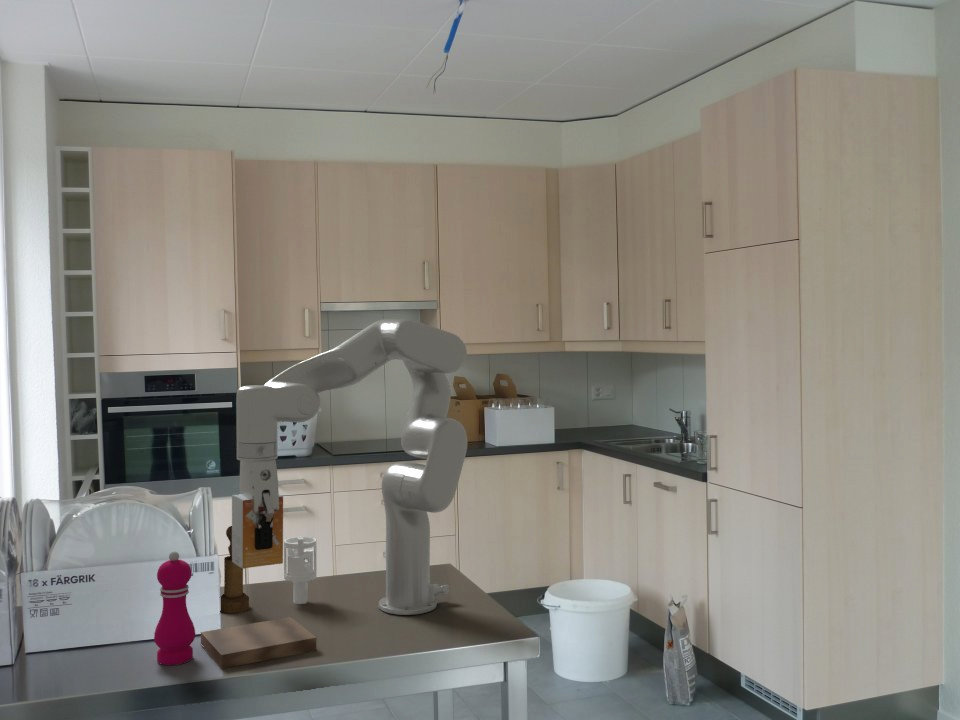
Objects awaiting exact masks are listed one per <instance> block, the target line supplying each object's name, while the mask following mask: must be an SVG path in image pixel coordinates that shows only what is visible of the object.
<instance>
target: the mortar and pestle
mask: <svg viewBox="0 0 960 720" xmlns="http://www.w3.org/2000/svg"><path fill="white" fill-rule="evenodd" d="M225 536H226V537H227V539H228V542H229V546H228V547H227V549H228V554H229V555H227V556H225V557H223V558H224V561H223V564H224V579H223V582H224V587H223V589H224V590H223V594H222V595H221V596H220V597H221V611H222V612H221V611H220V612H221V613H228V614H235V613H241V612H245V611H247V610H249V608H250V597H249V596H248V595H247V594H246V593H245V592H244V569H242V568H241V567H239V566H238V565H236V564H235V563H233V562H232V525H230V526H228V527H227V529H226V531H225Z"/></svg>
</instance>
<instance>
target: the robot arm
mask: <svg viewBox="0 0 960 720" xmlns="http://www.w3.org/2000/svg"><path fill="white" fill-rule="evenodd" d="M467 351H468V350H467V346H466V344H465V342H464V340H462V339H461V338H460V337H459V335H457V334H455V333H452V332H449V331H447V330H444V329H442V328H441V329H440V328H437V327H435V326H431V325H428V324H426V323H423V322H420V321H418V320H413V319H410V318H408V319H407V318H383V319H380V320H377V321H375V322H373V323H371V324H370V325H368V326H366V327H365V328H363V329H362V330H361V331H359V332H358V333H356V334H354V335H353V336H351V337H349V338H348V339H347V340H345V341H344V342H341V343H340V344H339V345H337V346H336V347H333V348H332V349H330V350H328V351H324V352H322V353H319V354H318V355H315V356H312V357H311V358H308V359H305V360H303V361H301V362H298V363H296V364H294V365H292V366H290V367H288V368H287V369H285V370H283V371H282V372H280V373H279V374H277V375H276V376H274V377H272V378H271V379H269V380H268V381H267V382H266V383H265V384H257V385H256V384H254V385H252V384H251V385H243V386H241V387H239V388H238V389H237V392H236V401H235V402H236V403H235V405H236V406H235V407H236V411H235V412H236V460H238V461H240V463H239V465H240V466H239V485H238V487H239V494H242V495H244V496H246V497H248V498H249V499H251V503H252V512H253V513H255V514H256V525H257V528H255V549H256V550H262V549H270V548H272V546H273V542H272V527H273V522H272V520H273V515H274V512H276V511H278V509H279V495H280V492H279V479H278V478H279V477H278V475H279V474H278V469H277V467H278V466H277V463H276V462H277V461H276V460H277V459H278V457H279V456H278V455H279V454H278V423H279V422H285V423H286V422H287V423H305V422H308V421H311V420H312V419H313V418H314V417H315V416H316V415H317V414H318V412H319V411H320V408H321V398H320V395H319V393H323V392H326V391H331V390H338V389H342V388H343V389H344V388H346V387H350V386H354V385H356V384H358V383H360V382H362V381H363V379H366V378H367V377H368V376H370V375H371V374H372V373H374V372H376V371H377V370H378V369H380V368H381V367H383V366H384V365H386V364H387V363H388V362H390V361H393V360H397V361H398V360H399V361H401V360H402V363H403V364H404V366H405V367H406V370H407V371H408V373H409V375H410V378H411V381H412V395H411V400H410V404H409V408H408V410H407V415H406V418H405V421H404V426H403V429H402V432H401V437H400V445H401V449H402V450H403V451H404V452H405V453H406V454H407V455H409V456H412V457H414V458H418V459H424V460H426V461H425V464H422V463H418V462H417V463H416V462H412V461H411V462H409V461H399V462H396V463H393V464H392V465H390V466H389V467H388V468H387V469H386V471H385V472H384V474H383V476H382V479H381V494H382V498H383V503H384V512H385V527H386V528H385V596H384V597H382V598H381V599H380V600H379V601H378V608H379V610H381V611H383V612H384V613H387V614H392V615H398V616H399V615H400V616H413V615H421V614H424V613H428V612H431V611H433V610H435V609H436V608H437V604H438V602H437V599H436V597H437V596H439V595H445V594H449V593H450V591H451V590H450V586H449V584H444V585H443V584H442V585H440V584H438V583H430V582H431V581H430V580H431V577H430V576H431V572H430V570H431V569H430V567H431V566H430V565H431V564H430V563H431V561H430V560H431V559H430V558H431V557H430V556H431V552H430V551H431V539H430V537H431V526H430V519H429V515H428V513H431V514H432V513H435V514H437V513H440V512H443V511H445V510H446V509H447V508H448V507H449V506H450V505H451V504H452V502H453V499H454V497H455V495H456V492H457V488H458V484H459V481H460V477H461V473H462V471H463V467H464V462H465V458H466V454H467V452H468V451H467V450H468V435H467V431H466V429H465V427H464V426H463V424H462V423H461V422H460V421H458V420H456V418H455V419H454V418H452V417H448V414H449V413H448V412H449V408H450V403H451V400H452V399H451V398H452V395H451V394H452V391H451V386H450V383H449V379H448V377H447V374H453V373H456V372H458V371H459V370H461V368H462V367H463V366H464V365H465V363H466V361H467V356H468V353H467ZM258 507H264V509H265V511H259V510H258ZM274 510H275V511H274ZM260 515H264V516H262V519H261V520H260Z"/></svg>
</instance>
